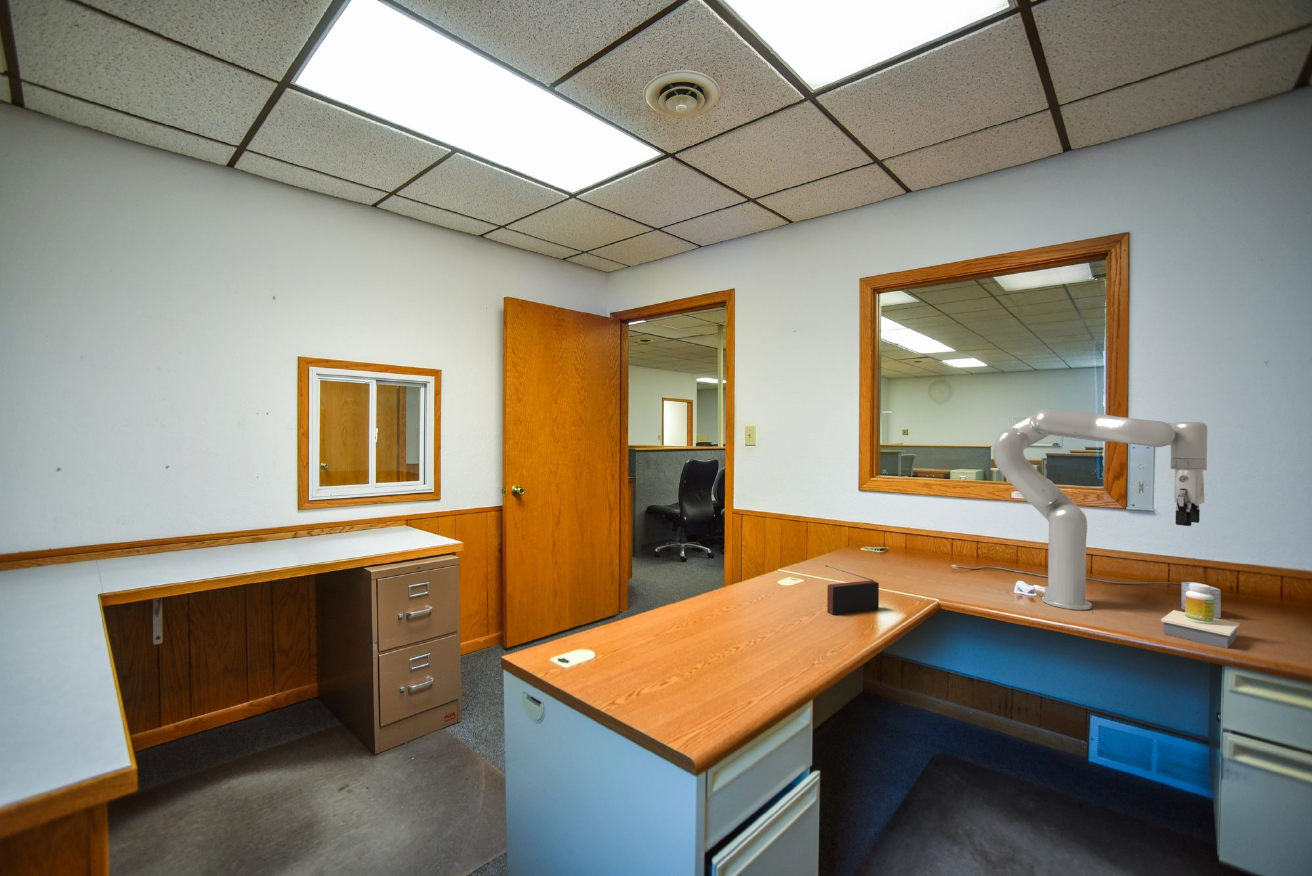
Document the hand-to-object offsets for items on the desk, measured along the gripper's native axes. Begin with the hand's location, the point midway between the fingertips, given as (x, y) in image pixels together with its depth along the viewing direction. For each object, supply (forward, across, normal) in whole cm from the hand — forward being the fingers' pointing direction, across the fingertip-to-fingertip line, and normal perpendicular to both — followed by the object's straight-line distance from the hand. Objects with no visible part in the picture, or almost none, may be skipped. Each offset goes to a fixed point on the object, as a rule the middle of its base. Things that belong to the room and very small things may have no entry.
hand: (1187, 523), depth 158 cm
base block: (+28, -13, -5) cm, 32 cm away
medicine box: (+29, +12, -1) cm, 31 cm away
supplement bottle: (+24, -13, -5) cm, 28 cm away
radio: (+29, -72, +62) cm, 99 cm away
